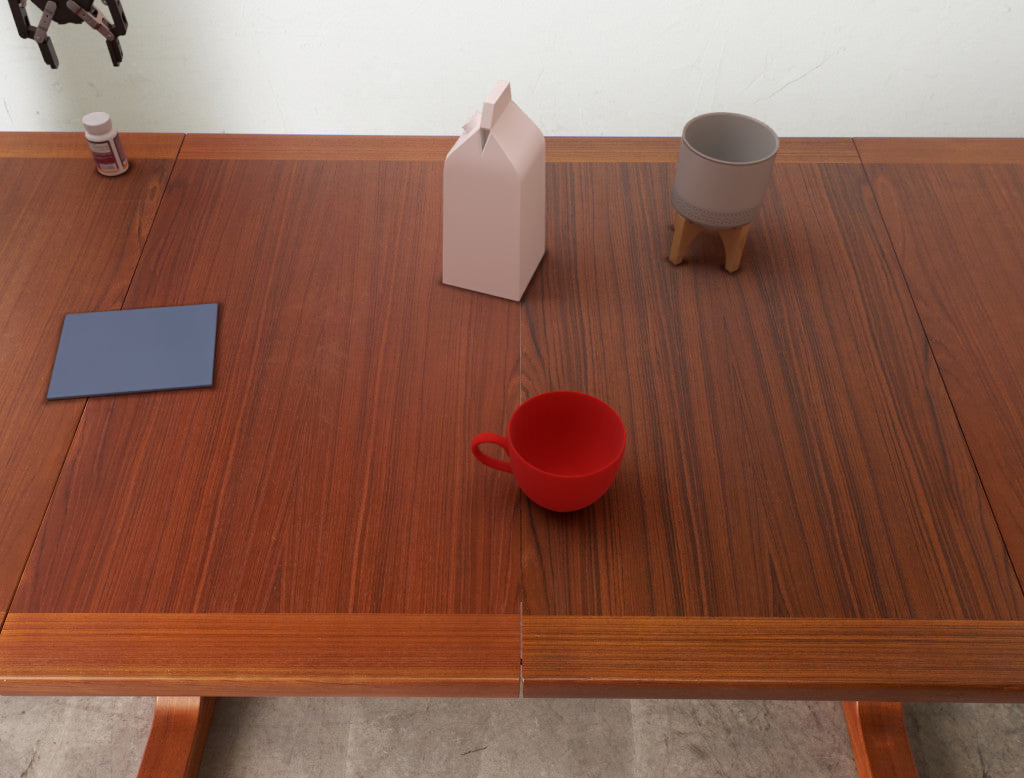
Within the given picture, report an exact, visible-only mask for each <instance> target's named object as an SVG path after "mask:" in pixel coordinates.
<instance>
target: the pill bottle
mask: <svg viewBox="0 0 1024 778" xmlns="http://www.w3.org/2000/svg"><path fill="white" fill-rule="evenodd" d="M82 124H83V127H84V130H85V131H84V136H85V140H86V142H87V144H88V147H89V150H90V152H91V155H92V157H93V160H94V163H95V166H96V168H97V171H98V172H99V173H100V174H101V175H103V176H107V177H114V176H119V175H121V174H124V173H125V172H126V171H127V170H128V169H129V162H128V158H127V155H126V153H125V149H124V147H123V144H122V141H121V138H120V135H119V132H118V130H117V128H116V127H115V126H114V125H113V121H112V119H111V116H110V114H109V113H107V112H104V111H93V112H89V113H87V114H86V115H84V116H83V117H82Z"/></svg>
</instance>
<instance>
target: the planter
mask: <svg viewBox="0 0 1024 778" xmlns="http://www.w3.org/2000/svg"><path fill="white" fill-rule="evenodd" d="M779 146H780V138H779V136H778V134H777V133H776V131H775V130H774V129H773V127H770V126H769V124H767V123H766V122H763V121H761V120H759V119H757V118H755V117H752V116H749V115H745V114H742V113H736V112H730V111H729V112H728V111H727V112H726V111H714V112H708V113H703V114H700V115H697V116H694V117H692V118H691V119H689V120H688V121H687V122H686V123H685V125H684V126H683V128H682V133H681V138H680V142H679V150H678V154H677V159H676V164H675V169H674V175H673V180H672V185H671V191H670V203H671V205H672V207H673V208H674V210H675V214H674V215H675V216H674V221H673V226H672V228H673V230H674V232H673V237H672V241H671V247H670V252H669V258H668V261H669V262H670V263H672V264H673V265H675V266H677V265H679V264H681V263H682V262H683V259H684V256H685V253H686V252H687V249H688V248H689V246H690V245H691V244H692V242H693V241H694V239H695V238H696V237H697V236H698V234H700V233H701V232H702V231H703V230H704V229H708V230H714V231H716V232H717V233H718V235H719V237H720V239H721V241H722V245H723V247H724V253H725V266H724V269H725V270H726V271H728V272H729V273H730V274H731V273H733V272H735V271H737V270H739V267H740V263H741V260H742V256H743V253H744V249H745V245H746V241H747V238H748V235H749V231H750V227H751V223H752V222H753V221H755V220H756V219H757V218H758V217H759V216H760V213H761V211H762V208H763V204H764V200H765V196H766V195H767V194H766V193H767V190H768V186H769V183H770V179H771V176H772V173H773V169H774V165H775V162H776V158H777V154H778V151H779V148H780V147H779Z"/></svg>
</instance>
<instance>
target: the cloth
mask: <svg viewBox="0 0 1024 778" xmlns="http://www.w3.org/2000/svg"><path fill="white" fill-rule="evenodd" d="M218 315H219V303H217V302H216V303H215V302H214V303H204V304H202V303H201V304H188V305H177V306H175V305H174V306H161V307H151V308H150V307H148V308H134V309H133V308H132V309H121V310H119V309H118V310H108V311H107V310H106V311H94V312H80V313H66V314H65V316H64V321H63V326H62V330H61V334H60V338H59V342H58V347H57V351H56V356H55V360H54V364H53V368H52V373H51V377H50V382H49V386H48V389H47V390H48V391H47V394H46V399H47V401H55V400H66V399H67V400H68V399H78V398H91V397H92V398H93V397H102V396H115V395H116V396H117V395H126V394H138V393H139V394H140V393H150V392H151V393H153V392H162V391H164V392H165V391H175V390H188V389H199V388H210V387H211V388H212V387H213V384H214V383H213V381H214V369H215V368H214V367H215V355H216V343H217V329H218V326H217V325H218V317H219V316H218Z"/></svg>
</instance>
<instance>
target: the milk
mask: <svg viewBox="0 0 1024 778" xmlns="http://www.w3.org/2000/svg"><path fill="white" fill-rule="evenodd" d="M511 90H512V89H511V81H506V80H501V79H499V80H498V81H497V83H496V84H495V86H494V87H493V89H492V90H491V91H490V93H489V94H488V96H486V98H485V100H484V101H483V105H482V110H481V112H480V111H479V110H476V111H475V112H474V113H472V115H471V116H469V117H468V119H466V121H465V122H464V123H463V124H462V126H461V128H462V129H463V132H462V133H461V135H460V136H459V138H458V139H457V140H456V142H455V143H454V144H453V146H452V147H451V149H450V150H449V151H448V153H447V154H446V157H445V160H444V163H443V170H442V171H443V172H442V174H443V175H442V284H445V285H448V286H453V287H456V288H460V289H465V290H470V291H473V292H478V293H482V294H485V295H490V296H495V297H498V298H503V299H507V300H511V301H515V302H520V301H521V298H522V297H523V295H524V293H525V291H526V290H527V287H528V285H529V284H530V281H531V280H532V278H533V277H534V274H535V272H536V270H537V268H538V266H539V264H540V263H541V261H542V259H543V257H544V255H545V253H546V147H547V146H546V145H547V144H546V139H545V135H544V133H543V132H542V130H541V129H540V127H538V125H537V124H536V123H535V122H534V121H533V120H532V118H530V117H529V116H528V115H527V113H525V112H524V110H523V109H522V108H521V107H520V106H519V105H518V104H517V103H516V102H515V101H514V100H512V91H511Z"/></svg>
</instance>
